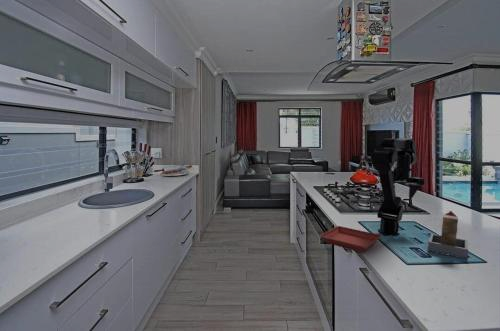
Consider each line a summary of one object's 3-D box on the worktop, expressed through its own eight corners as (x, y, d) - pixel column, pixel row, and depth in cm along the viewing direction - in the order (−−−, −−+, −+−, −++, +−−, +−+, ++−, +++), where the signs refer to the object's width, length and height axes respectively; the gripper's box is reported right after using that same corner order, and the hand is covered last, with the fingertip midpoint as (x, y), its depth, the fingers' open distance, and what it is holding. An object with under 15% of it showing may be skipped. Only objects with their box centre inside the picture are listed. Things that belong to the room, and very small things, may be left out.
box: (427, 251, 107) (428, 241, 106) (430, 242, 116) (431, 233, 116) (467, 259, 100) (468, 249, 99) (466, 249, 109) (467, 240, 109)
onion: (443, 224, 140) (444, 208, 139) (457, 227, 136) (459, 210, 136) (441, 227, 136) (442, 210, 135) (456, 230, 132) (458, 213, 131)
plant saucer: (337, 232, 127) (338, 225, 127) (381, 242, 115) (381, 234, 115) (318, 243, 113) (319, 235, 113) (366, 256, 102) (366, 247, 101)
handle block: (440, 248, 107) (443, 217, 106) (440, 245, 111) (443, 214, 110) (454, 251, 105) (457, 219, 103) (454, 248, 108) (457, 216, 107)
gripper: (410, 164, 142) (408, 195, 143) (374, 163, 140) (372, 195, 141) (426, 166, 131) (424, 200, 132) (387, 166, 129) (385, 201, 130)
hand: (400, 199), depth 134 cm, fingers open, 9 cm apart
